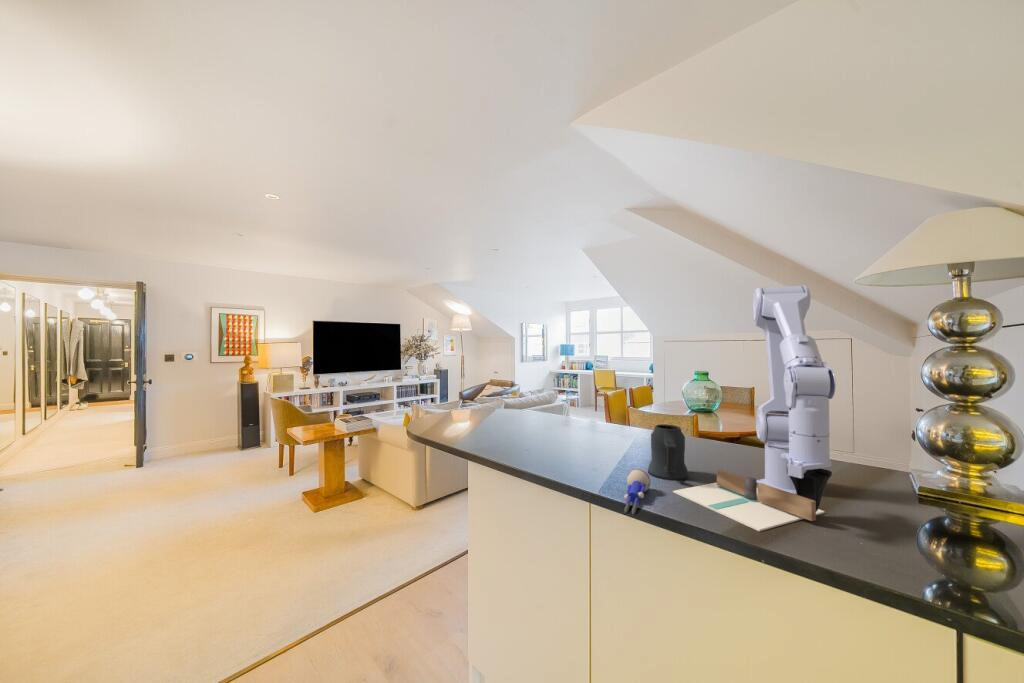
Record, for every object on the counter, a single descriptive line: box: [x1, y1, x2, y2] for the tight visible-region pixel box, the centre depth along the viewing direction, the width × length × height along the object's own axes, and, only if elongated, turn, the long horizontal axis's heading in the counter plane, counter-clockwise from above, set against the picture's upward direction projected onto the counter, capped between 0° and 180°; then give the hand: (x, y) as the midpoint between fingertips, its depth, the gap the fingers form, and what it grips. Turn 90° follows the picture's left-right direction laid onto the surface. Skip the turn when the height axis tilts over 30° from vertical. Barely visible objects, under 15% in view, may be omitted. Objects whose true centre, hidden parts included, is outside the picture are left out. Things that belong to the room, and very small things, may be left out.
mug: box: [647, 423, 689, 482], centre depth 88 cm, size 12×9×11 cm
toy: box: [623, 468, 651, 516], centre depth 74 cm, size 5×5×15 cm
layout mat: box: [672, 481, 826, 532], centre depth 73 cm, size 18×18×1 cm
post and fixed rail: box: [716, 468, 758, 500], centre depth 77 cm, size 2×8×4 cm, turn 23°
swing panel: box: [757, 483, 817, 522], centre depth 68 cm, size 9×1×3 cm, turn 23°
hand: (809, 509), depth 67 cm, fingers closed
